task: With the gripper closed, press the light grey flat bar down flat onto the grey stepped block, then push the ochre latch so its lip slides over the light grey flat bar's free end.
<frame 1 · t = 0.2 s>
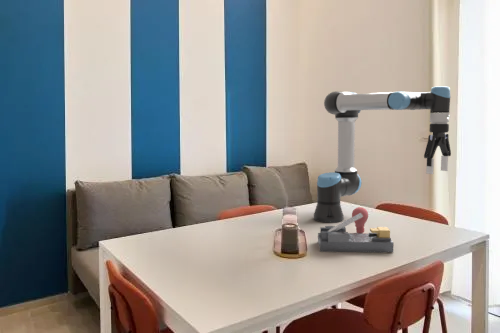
hand: (437, 172, 181), 28 cm above the table, fingers open, 13 cm apart
light grey flat bar: (342, 225, 167), point 9 cm above the table, hinge at 30.0°
light bulb: (359, 233, 187), on the table
latch: (379, 233, 166), point 6 cm above the table, slide at 0.0 cm
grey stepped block: (353, 247, 168), on the table
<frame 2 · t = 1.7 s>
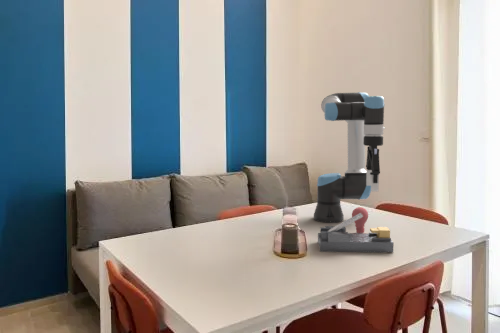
hand: (372, 188, 168), 24 cm above the table, fingers open, 13 cm apart
nothing on the table moved.
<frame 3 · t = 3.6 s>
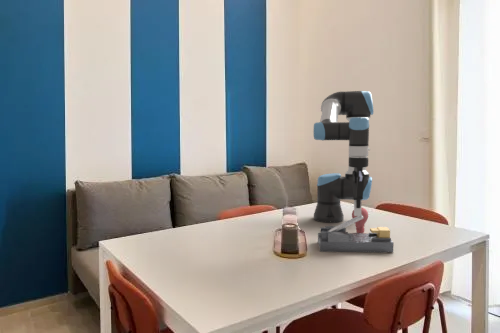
hand: (357, 215, 166), 13 cm above the table, fingers closed
light grey flat bar: (343, 225, 167), point 9 cm above the table, hinge at 27.7°, touching gripper
everything else where it was.
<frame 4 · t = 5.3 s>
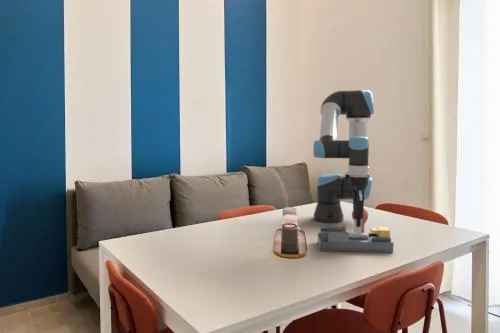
hand: (357, 233, 167), 6 cm above the table, fingers closed
light grey flat bar: (345, 235, 168), point 5 cm above the table, hinge at 0.9°, touching gripper
everything else where it was.
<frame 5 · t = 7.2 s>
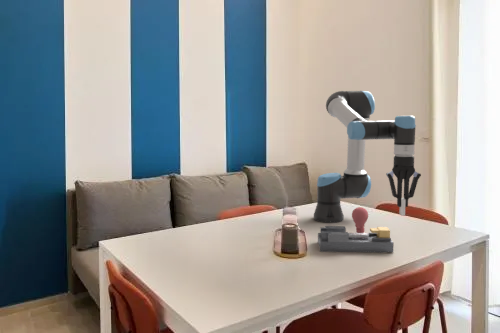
hand: (402, 214, 165), 14 cm above the table, fingers closed
light grey flat bar: (345, 235, 168), point 5 cm above the table, hinge at 0.9°
everything else where it was.
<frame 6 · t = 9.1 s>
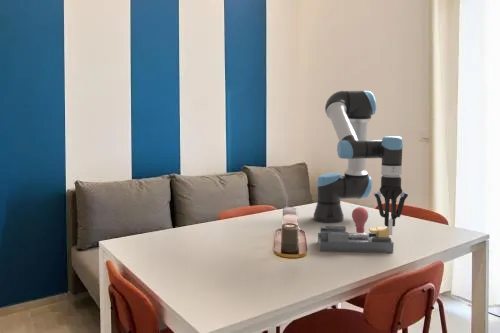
hand: (389, 234, 166), 6 cm above the table, fingers closed
latch: (378, 233, 167), point 6 cm above the table, slide at 0.3 cm, touching gripper
everything else where it was.
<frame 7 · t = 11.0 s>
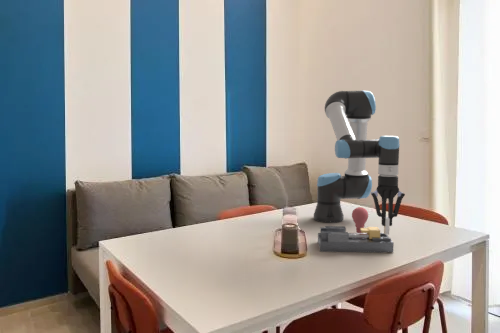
hand: (386, 233, 166), 6 cm above the table, fingers closed
latch: (369, 232, 167), point 6 cm above the table, slide at 3.8 cm
everything else where it was.
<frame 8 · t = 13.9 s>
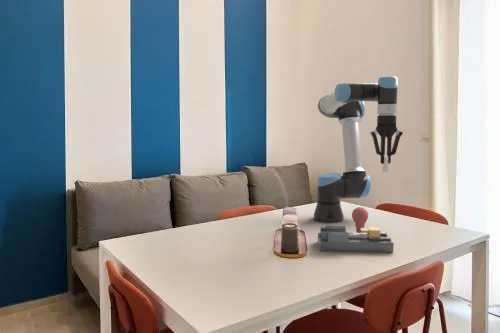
hand: (385, 171, 174), 29 cm above the table, fingers closed
nothing on the table moved.
at the end: light grey flat bar at +1° (first picture: +30°); latch slide at 3.8 cm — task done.
